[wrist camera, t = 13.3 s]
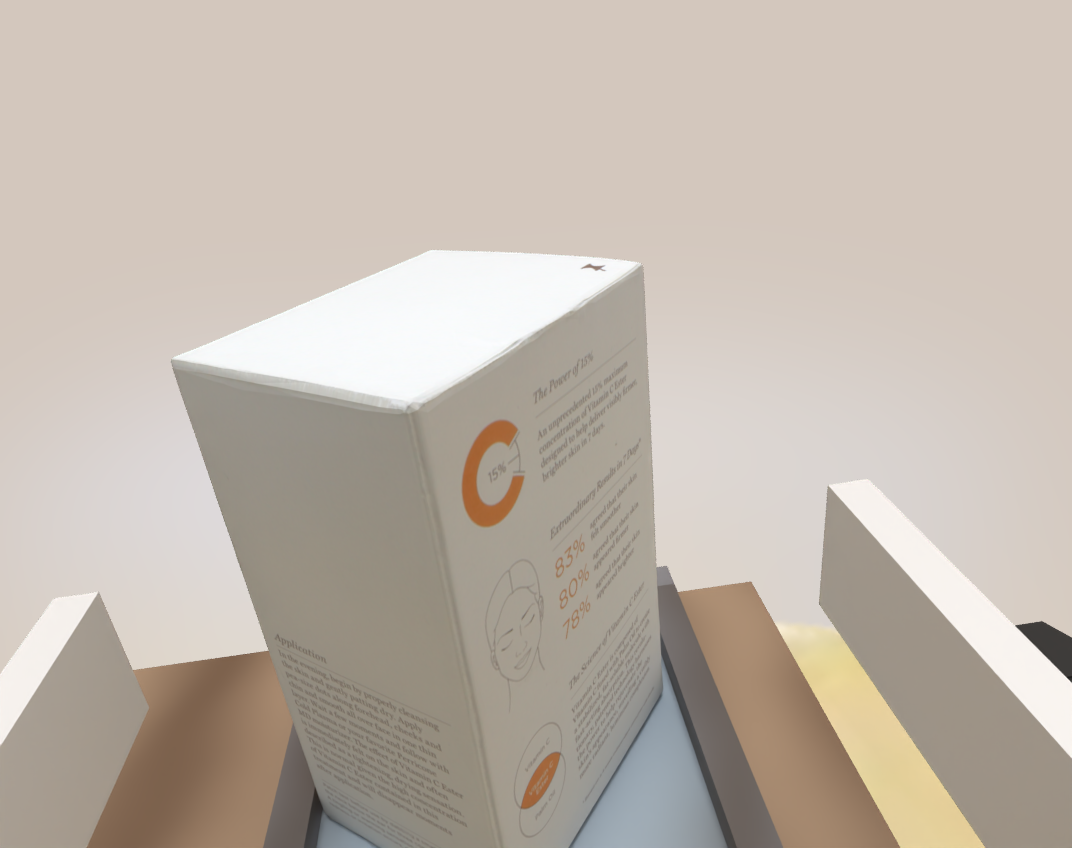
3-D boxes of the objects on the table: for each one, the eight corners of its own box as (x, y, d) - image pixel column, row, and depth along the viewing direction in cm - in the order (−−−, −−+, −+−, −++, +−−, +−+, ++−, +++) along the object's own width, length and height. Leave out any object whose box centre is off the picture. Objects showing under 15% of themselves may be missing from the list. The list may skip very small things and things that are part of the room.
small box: (493, 628, 26) (431, 243, 20) (668, 692, 23) (653, 255, 17) (315, 820, 20) (157, 352, 14) (517, 943, 17) (416, 403, 11)
